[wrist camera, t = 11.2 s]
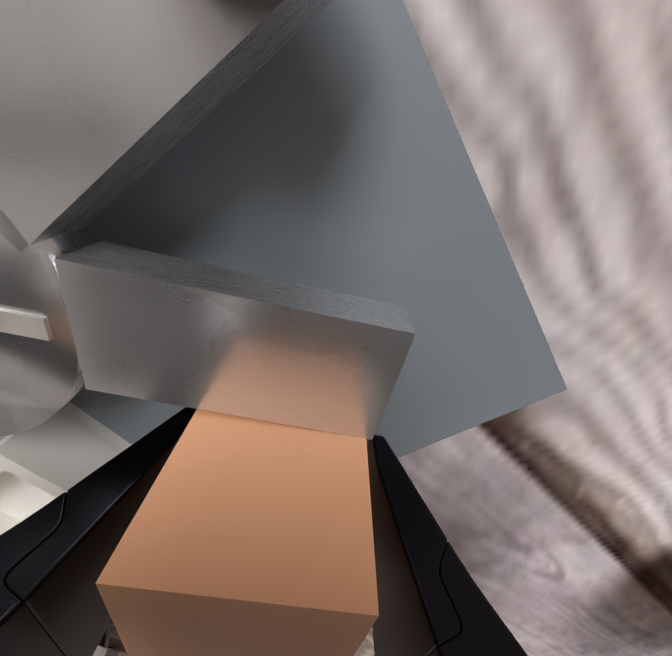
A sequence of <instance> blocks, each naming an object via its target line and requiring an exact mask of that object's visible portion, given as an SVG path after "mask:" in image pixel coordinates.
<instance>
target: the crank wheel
mask: <svg viewBox="0 0 672 656" xmlns="http://www.w3.org/2000/svg"><path fill="white" fill-rule="evenodd" d="M334 1H335V0H0V437H1V436H7V435H13V434H17V433H20V432H23V431H26V430H30V429H32V428H34V427H36V426H38V425H40V424H42V423H44V422H45V421H47V420H48V419H49V418H50V417H52V416H53V415H54V414H55V413H56V412H58V411H59V410H60V409H61V408H62V407H63V406H64V405H65V404H67V403H68V402H69V401H70V400H71V399H72V398H73V397H74V396H75V395H77V394H78V393H79V392H80V391H81V390H82V389H83V388H84V387H86V389H88V390H93V391H99V392H105V393H110V394H116V395H122V396H127V397H133V398H139V399H144V400H150V401H156V402H161V403H167V404H173V405H178V406H184V407H190V408H195V409H201V410H207V411H212V412H218V413H223V414H229V415H235V416H240V417H246V418H252V419H257V420H263V421H269V422H274V423H280V424H286V425H291V426H297V427H303V428H308V429H314V430H320V431H325V432H331V433H337V434H342V435H348V436H353V437H359V438H365V439H370V440H372V439H373V437H374V434H375V432H376V429H377V427H378V425H379V422H380V420H381V417H382V415H383V412H384V410H385V407H386V405H387V403H388V400H389V398H390V395H391V393H392V390H393V388H394V385H395V383H396V381H397V378H398V376H399V373H400V371H401V368H402V366H403V363H404V361H405V359H406V356H407V354H408V351H409V349H410V346H411V344H412V341H413V339H414V337H415V331H414V329H413V326H412V323H411V321H410V318H409V316H408V313H407V310H406V308H405V306H401V305H396V304H391V303H387V302H382V301H377V300H373V299H368V298H364V297H359V296H354V295H350V294H345V293H340V292H336V291H331V290H327V289H322V288H317V287H313V286H308V285H303V284H299V283H294V282H290V281H285V280H280V279H276V278H271V277H266V276H262V275H257V274H252V273H248V272H243V271H239V270H234V269H229V268H225V267H220V266H215V265H211V264H206V263H202V262H197V261H192V260H188V259H183V258H178V257H174V256H169V255H165V254H160V253H155V252H151V251H146V250H141V249H137V248H132V247H127V246H123V245H118V244H114V243H109V242H104V241H101V242H98V243H96V244H93V245H91V244H90V242H89V240H88V238H87V236H86V235H85V233H84V231H83V230H82V229H83V228H84V227H86V226H87V225H88V224H89V223H90V222H91V221H92V220H93V219H94V218H96V217H97V216H98V215H99V214H100V213H101V212H102V211H103V210H104V209H105V208H107V207H108V206H109V205H110V204H111V203H112V202H113V201H114V200H115V199H117V198H118V197H119V196H120V195H121V194H122V193H123V192H124V191H125V190H126V189H128V188H129V187H130V186H131V185H132V184H133V183H134V182H135V181H136V180H137V179H139V178H140V177H141V176H142V175H143V174H144V173H145V172H146V171H147V170H149V169H150V168H151V167H152V166H153V165H154V164H155V163H156V162H157V161H158V160H160V159H161V158H162V157H163V156H164V155H165V154H166V153H167V152H168V151H170V150H171V149H172V148H173V147H174V146H175V145H176V144H177V143H178V142H179V141H181V140H182V139H183V138H184V137H185V136H186V135H187V134H188V133H189V132H190V131H192V130H193V129H194V128H195V127H196V126H197V125H198V124H199V123H200V122H202V121H203V120H204V119H205V118H206V117H207V116H208V115H209V114H210V113H211V112H213V111H214V110H215V109H216V108H217V107H218V106H219V105H220V104H221V103H223V102H224V101H225V100H226V99H227V98H228V97H229V96H230V95H231V94H232V93H234V92H235V91H236V90H237V89H238V88H239V87H240V86H241V85H242V84H244V83H245V82H246V81H247V80H248V79H249V78H250V77H251V76H252V75H253V74H255V73H256V72H257V71H258V70H259V69H260V68H261V67H262V66H263V65H264V64H266V63H267V62H268V61H269V60H270V59H271V58H272V57H273V56H274V55H276V54H277V53H278V52H279V51H280V50H281V49H282V48H283V47H284V46H285V45H287V44H288V43H289V42H290V41H291V40H292V39H293V38H294V37H295V36H297V35H298V34H299V33H300V32H301V31H302V30H303V29H304V28H305V27H306V26H308V25H309V24H310V23H311V22H312V21H313V20H314V19H315V18H316V17H318V16H319V15H320V14H321V13H322V12H323V11H324V10H325V9H326V8H327V7H329V6H330V5H331V4H332V3H333V2H334Z"/></svg>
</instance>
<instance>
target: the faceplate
mask: <svg viewBox="0 0 672 656" xmlns="http://www.w3.org/2000/svg"><path fill="white" fill-rule="evenodd" d="M82 230H83V231H84V233H85V235H86V236H87V238H88V240H89V242H90V244H91V245H93V244H96V243H98V242H101V241H104V242H109V243H114V244H118V245H123V246H127V247H132V248H137V249H141V250H146V251H151V252H155V253H160V254H165V255H169V256H174V257H178V258H183V259H188V260H192V261H197V262H202V263H206V264H211V265H215V266H220V267H225V268H229V269H234V270H239V271H243V272H248V273H252V274H257V275H262V276H266V277H271V278H276V279H280V280H285V281H290V282H294V283H299V284H303V285H308V286H313V287H317V288H322V289H327V290H331V291H336V292H340V293H345V294H350V295H354V296H359V297H364V298H368V299H373V300H377V301H382V302H387V303H391V304H396V305H401V306H405V308H406V310H407V313H408V316H409V318H410V321H411V323H412V326H413V329H414V331H415V337H414V339H413V341H412V344H411V346H410V349H409V351H408V354H407V356H406V359H405V361H404V363H403V366H402V368H401V371H400V373H399V376H398V378H397V381H396V383H395V385H394V388H393V390H392V393H391V395H390V398H389V400H388V403H387V405H386V407H385V410H384V412H383V415H382V417H381V420H380V422H379V425H378V427H377V429H376V432H375V434H374V435H380V436H383V437H384V438H385V439H386V441H387V442H388V444H389V446H390V447H391V449H392V451H393V452H394V454H395V455H396V457H400V456H402V455H405V454H407V453H410V452H412V451H415V450H417V449H420V448H422V447H425V446H427V445H430V444H432V443H435V442H437V441H440V440H442V439H445V438H447V437H449V436H452V435H454V434H457V433H459V432H462V431H464V430H467V429H469V428H472V427H474V426H477V425H479V424H482V423H484V422H487V421H489V420H492V419H494V418H497V417H499V416H502V415H504V414H507V413H509V412H512V411H514V410H517V409H519V408H522V407H524V406H527V405H529V404H532V403H534V402H536V401H539V400H541V399H544V398H546V397H549V396H551V395H554V394H556V393H559V392H561V391H564V390H566V389H567V388H566V386H565V383H564V381H563V378H562V376H561V374H560V371H559V369H558V367H557V364H556V362H555V359H554V357H553V355H552V352H551V350H550V348H549V345H548V343H547V341H546V338H545V336H544V333H543V331H542V329H541V326H540V324H539V322H538V319H537V317H536V315H535V312H534V310H533V307H532V305H531V303H530V300H529V298H528V296H527V293H526V291H525V289H524V286H523V284H522V281H521V279H520V277H519V274H518V272H517V270H516V267H515V265H514V263H513V260H512V258H511V255H510V253H509V251H508V248H507V246H506V244H505V241H504V239H503V237H502V234H501V232H500V229H499V227H498V225H497V222H496V220H495V218H494V215H493V213H492V211H491V208H490V206H489V203H488V201H487V199H486V196H485V194H484V192H483V189H482V187H481V185H480V182H479V180H478V177H477V175H476V173H475V170H474V168H473V166H472V163H471V161H470V159H469V156H468V154H467V151H466V149H465V147H464V144H463V142H462V140H461V137H460V135H459V133H458V130H457V128H456V125H455V123H454V121H453V118H452V116H451V114H450V111H449V109H448V107H447V104H446V102H445V99H444V97H443V95H442V92H441V90H440V88H439V85H438V83H437V81H436V78H435V76H434V73H433V71H432V69H431V66H430V64H429V62H428V59H427V57H426V54H425V52H424V50H423V47H422V45H421V43H420V40H419V38H418V36H417V33H416V31H415V28H414V26H413V24H412V21H411V19H410V17H409V14H408V12H407V10H406V7H405V5H404V2H403V0H335V1H334V2H333V3H332V4H331V5H330V6H329V7H327V8H326V9H325V10H324V11H323V12H322V13H321V14H320V15H319V16H318V17H316V18H315V19H314V20H313V21H312V22H311V23H310V24H309V25H308V26H306V27H305V28H304V29H303V30H302V31H301V32H300V33H299V34H298V35H297V36H295V37H294V38H293V39H292V40H291V41H290V42H289V43H288V44H287V45H285V46H284V47H283V48H282V49H281V50H280V51H279V52H278V53H277V54H276V55H274V56H273V57H272V58H271V59H270V60H269V61H268V62H267V63H266V64H264V65H263V66H262V67H261V68H260V69H259V70H258V71H257V72H256V73H255V74H253V75H252V76H251V77H250V78H249V79H248V80H247V81H246V82H245V83H244V84H242V85H241V86H240V87H239V88H238V89H237V90H236V91H235V92H234V93H232V94H231V95H230V96H229V97H228V98H227V99H226V100H225V101H224V102H223V103H221V104H220V105H219V106H218V107H217V108H216V109H215V110H214V111H213V112H211V113H210V114H209V115H208V116H207V117H206V118H205V119H204V120H203V121H202V122H200V123H199V124H198V125H197V126H196V127H195V128H194V129H193V130H192V131H190V132H189V133H188V134H187V135H186V136H185V137H184V138H183V139H182V140H181V141H179V142H178V143H177V144H176V145H175V146H174V147H173V148H172V149H171V150H170V151H168V152H167V153H166V154H165V155H164V156H163V157H162V158H161V159H160V160H158V161H157V162H156V163H155V164H154V165H153V166H152V167H151V168H150V169H149V170H147V171H146V172H145V173H144V174H143V175H142V176H141V177H140V178H139V179H137V180H136V181H135V182H134V183H133V184H132V185H131V186H130V187H129V188H128V189H126V190H125V191H124V192H123V193H122V194H121V195H120V196H119V197H118V198H117V199H115V200H114V201H113V202H112V203H111V204H110V205H109V206H108V207H107V208H105V209H104V210H103V211H102V212H101V213H100V214H99V215H98V216H97V217H96V218H94V219H93V220H92V221H91V222H90V223H89V224H88V225H87V226H86V227H84V228H83V229H82ZM69 402H71V403H72V404H74V405H75V406H77V407H78V408H80V409H81V410H82V411H84V412H85V413H87V414H88V415H90V416H91V417H93V418H94V419H95V420H97V421H98V422H100V423H101V424H103V425H104V426H106V427H107V428H109V429H110V430H111V431H113V432H114V433H116V434H117V435H119V436H120V437H122V438H123V439H124V440H126V441H127V442H129V443H130V444H134V443H135V442H136V441H138V440H139V439H141V438H142V437H144V436H145V435H146V434H148V433H149V432H151V431H152V430H154V429H155V428H156V427H158V426H159V425H161V424H162V423H163V422H165V421H166V420H168V419H169V418H171V417H172V416H173V415H175V414H176V413H178V412H179V411H181V410H182V409H183V408H185V407H184V406H178V405H173V404H167V403H161V402H156V401H150V400H144V399H139V398H133V397H127V396H122V395H116V394H110V393H105V392H99V391H93V390H88V389H86V387H84V388H83V389H82V390H81V391H80V392H79V393H78V394H77V395H75V396H74V397H73V398H72V399H71V400H70V401H69ZM7 436H8V435H7ZM5 437H6V436H1V437H0V441H1V440H2V439H4V438H5ZM366 440H367V444H368V441H369V439H366Z"/></svg>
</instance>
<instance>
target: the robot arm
mask: <svg viewBox="0 0 672 656" xmlns="http://www.w3.org/2000/svg"><path fill="white" fill-rule="evenodd" d="M196 410H197V409H195V408H190V407H185V408H183V409H182V410H181V411H179V412H178V413H176V414H175V415H173V416H172V417H171V418H169V419H168V420H166V421H165V422H163V423H162V424H161V425H159V426H158V427H156V428H155V429H154V430H152V431H151V432H149V433H148V434H146V435H145V436H144V437H142V438H141V439H139V440H138V441H136V442H135V443H134V444H132V445H131V446H129V447H128V448H127V449H125V450H124V451H122V452H121V453H119V454H118V455H117V456H115V457H114V458H112V459H111V460H109V461H108V462H107V463H105V464H104V465H102V466H101V467H99V468H98V469H97V470H95V471H94V472H92V473H91V474H90V475H88V476H87V477H85V478H84V479H82V480H81V481H80V482H78V483H77V484H75V485H74V486H72V487H71V488H70V489H68V491H67V492H64V493H62V494H61V495H60V496H58V497H57V498H55V499H54V500H52V501H51V502H50V503H48V504H47V505H45V506H44V507H42V508H41V509H39V510H38V511H36V512H35V513H33V514H32V515H30V516H29V517H27V518H26V519H25V520H23V521H22V522H20V523H18V524H17V525H15V526H14V527H12V528H11V529H9V530H7V531H6V532H4V533H3V534H1V535H0V656H93V654H94V652H95V650H96V648H97V646H98V644H99V643H100V641H101V639H102V637H103V635H104V633H105V631H106V629H107V627H108V625H109V623H110V621H111V617H110V615H109V612H108V610H107V608H106V606H105V604H104V601H103V599H102V597H101V595H100V593H99V590H98V588H97V586H96V584H95V583H96V581H97V580H98V578H99V576H100V575H101V573H102V571H103V569H104V568H105V566H106V564H107V563H108V561H109V559H110V557H111V556H112V554H113V552H114V550H115V549H116V547H117V545H118V544H119V542H120V540H121V538H122V537H123V535H124V533H125V532H126V530H127V528H128V526H129V525H130V523H131V521H132V520H133V518H134V516H135V514H136V513H137V511H138V509H139V508H140V506H141V504H142V502H143V501H144V499H145V497H146V496H147V494H148V492H149V490H150V489H151V487H152V485H153V484H154V482H155V480H156V478H157V477H158V475H159V473H160V472H161V470H162V468H163V466H164V465H165V463H166V461H167V460H168V458H169V456H170V454H171V453H172V451H173V449H174V448H175V446H176V444H177V442H178V441H179V439H180V437H181V435H182V434H183V432H184V430H185V429H186V427H187V425H188V423H189V422H190V420H191V418H192V417H193V415H194V413H195V411H196ZM367 454H368V468H369V482H370V497H371V511H372V525H373V539H374V553H375V567H376V581H377V595H378V609H379V617H378V618H377V620H376V621H375V623H374V624H373V626H372V627H373V639H374V651H375V656H528V655H527V654H526V653H525V651H524V650H523V648H522V647H521V646H520V644H519V643H518V642H517V640H516V639H515V637H514V636H513V635H512V633H511V632H510V631H509V629H508V628H507V626H506V625H505V624H504V622H503V621H502V620H501V618H500V617H499V615H498V614H497V613H496V611H495V610H494V609H493V607H492V606H491V605H490V603H489V602H488V600H487V599H486V598H485V596H484V595H483V593H482V592H481V590H480V589H479V588H478V586H477V585H476V583H475V582H474V580H473V579H472V578H471V576H470V575H469V573H468V571H467V570H466V568H465V567H464V565H463V564H462V562H461V561H460V559H459V558H458V556H457V554H456V553H455V551H454V549H453V548H452V546H451V545H450V543H449V542H447V538H446V537H445V535H444V533H443V532H442V530H441V529H440V527H439V525H438V524H437V522H436V520H435V519H434V517H433V516H432V514H431V512H430V511H429V509H428V507H427V506H426V504H425V503H424V501H423V499H422V498H421V496H420V494H419V493H418V491H417V490H416V488H415V486H414V485H413V483H412V481H411V480H410V478H409V477H408V475H407V473H406V472H405V470H404V468H403V467H402V465H401V464H400V462H399V460H398V459H397V457H396V455H395V454H394V452H393V451H392V449H391V447H390V446H389V444H388V442H387V441H386V439H385V438H384V437H383V436H380V435H374V437H373V439H372V440H370V439H369V441H368V444H367Z"/></svg>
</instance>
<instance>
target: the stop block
mask: <svg viewBox="0 0 672 656" xmlns="http://www.w3.org/2000/svg"><path fill="white" fill-rule="evenodd" d="M95 584H96V586H97V588H98V590H99V593H100V595H101V597H102V599H103V601H104V604H105V606H106V608H107V610H108V612H109V615H110V617H111V619H112V621H113V623H114V626H115V628H116V630H117V632H118V635H119V637H120V639H121V641H122V643H123V646H124V648H125V650H126V652H127V654H128V656H353V655H354V654H355V652H356V650H357V649H358V647H359V646H360V644H361V643H362V641H363V640H364V638H365V637H366V635H367V634H368V632H369V630H370V629H371V627H372V626H373V624H374V623H375V621H376V620H377V618H378V617H379V609H378V595H377V581H376V567H375V553H374V539H373V525H372V511H371V497H370V482H369V468H368V454H367V440H366V439H365V438H359V437H353V436H348V435H342V434H337V433H331V432H325V431H320V430H314V429H308V428H303V427H297V426H291V425H286V424H280V423H274V422H269V421H263V420H257V419H252V418H246V417H240V416H235V415H229V414H223V413H218V412H212V411H207V410H201V409H197V410H196V411H195V413H194V415H193V417H192V418H191V420H190V422H189V423H188V425H187V427H186V429H185V430H184V432H183V434H182V435H181V437H180V439H179V441H178V442H177V444H176V446H175V448H174V449H173V451H172V453H171V454H170V456H169V458H168V460H167V461H166V463H165V465H164V466H163V468H162V470H161V472H160V473H159V475H158V477H157V478H156V480H155V482H154V484H153V485H152V487H151V489H150V490H149V492H148V494H147V496H146V497H145V499H144V501H143V502H142V504H141V506H140V508H139V509H138V511H137V513H136V514H135V516H134V518H133V520H132V521H131V523H130V525H129V526H128V528H127V530H126V532H125V533H124V535H123V537H122V538H121V540H120V542H119V544H118V545H117V547H116V549H115V550H114V552H113V554H112V556H111V557H110V559H109V561H108V563H107V564H106V566H105V568H104V569H103V571H102V573H101V575H100V576H99V578H98V580H97V581H96V583H95Z"/></svg>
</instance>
